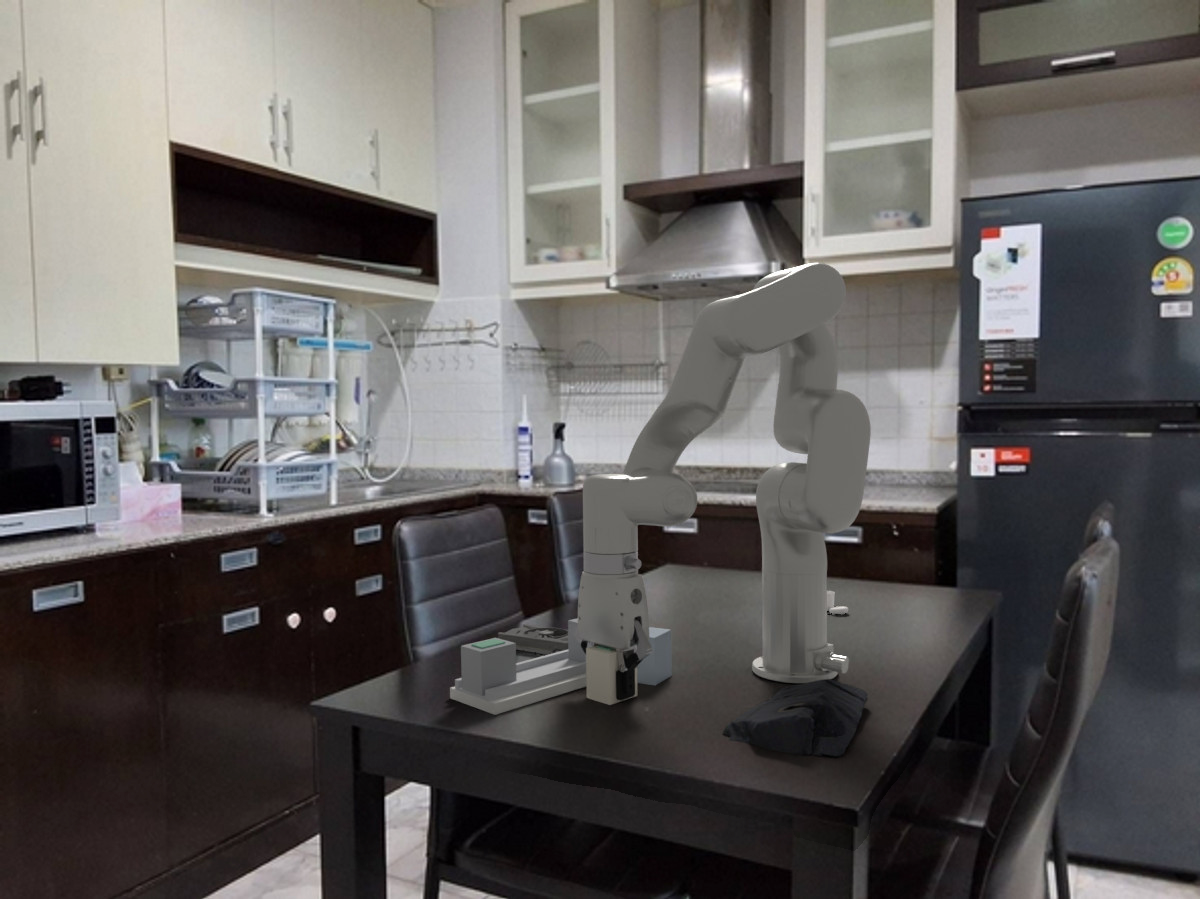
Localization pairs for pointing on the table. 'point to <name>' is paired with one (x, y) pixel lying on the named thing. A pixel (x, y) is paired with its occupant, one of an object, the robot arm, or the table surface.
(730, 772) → the table surface
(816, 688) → the black folded cloth
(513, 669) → the mounted module
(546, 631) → the graphics card
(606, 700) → the block
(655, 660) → the block
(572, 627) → the mounted module
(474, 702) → the rail base
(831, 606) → the white rounded block
